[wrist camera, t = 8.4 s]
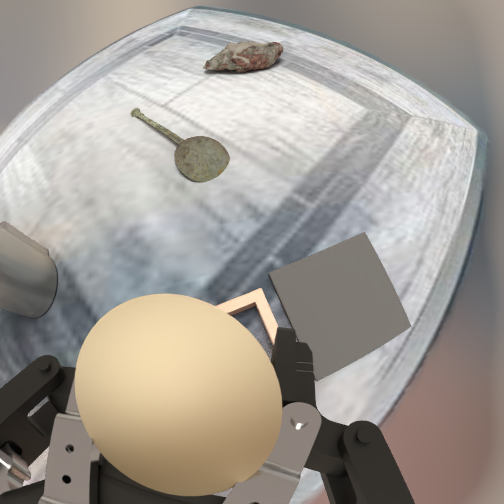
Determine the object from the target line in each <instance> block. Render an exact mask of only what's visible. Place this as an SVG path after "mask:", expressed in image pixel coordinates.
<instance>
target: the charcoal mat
mask: <svg viewBox="0 0 504 504" xmlns="http://www.w3.org/2000/svg"><path fill="white" fill-rule="evenodd" d="M269 277H270V279H271V281H272V284H273V286H274V288H275V290H276V293H277V295H278V297H279V299H280V302H281V304H282V306H283V308H284V311H285V313H286V315H287V317H288V320H289V322H290V324H291V326H292V329H295V332H296V338H297V340H298V342H304V343H307V344H308V346H309V348H310V349H311V351H312V355H313V368H314V371H313V373H314V378H315V380H316V381H318V380H320V379H322V378H324V377H326V376H328V375H330V374H332V373H334V372H336V371H338V370H340V369H342V368H343V367H345V366H347V365H349V364H351V363H353V362H354V361H356V360H358V359H360V358H362V357H363V356H365V355H367V354H368V353H370V352H372V351H374V350H375V349H377V348H379V347H380V346H382V345H383V344H385V343H387V342H388V341H390V340H391V339H393V338H394V337H396V336H398V335H399V334H401V333H402V332H404V331H405V330H407V329H408V328H410V327H411V324H410V322H409V320H408V317H407V315H406V313H405V311H404V308H403V306H402V304H401V302H400V300H399V297H398V295H397V293H396V291H395V289H394V287H393V285H392V283H391V281H390V279H389V277H388V275H387V273H386V271H385V269H384V267H383V265H382V263H381V261H380V259H379V257H378V255H377V253H376V252H375V250H374V248H373V246H372V244H371V242H370V241H369V239H368V237H367V235H366V233H365V232H364V233H362V234H359V235H357V236H355V237H352V238H350V239H348V240H346V241H343V242H341V243H339V244H336V245H334V246H332V247H329V248H327V249H325V250H322V251H320V252H318V253H315V254H313V255H311V256H308V257H306V258H303V259H301V260H299V261H296V262H294V263H291V264H289V265H287V266H284V267H282V268H279V269H277V270H274V271H272V272H270V273H269Z"/></svg>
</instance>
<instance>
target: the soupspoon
mask: <svg viewBox="0 0 504 504" xmlns="http://www.w3.org/2000/svg"><path fill="white" fill-rule="evenodd" d="M131 116H132V117H134V116H135V117H139V118H140V119H143V120H144V121H146V122H147V123H149V124H150V125H152V126H153V127H155V128H156V129H158V130H160V131H161V132H162V133H164V134H165V135H167V136H168V137H169V138H170V139H172V140H173V141H174V142H176V143H177V144H178V146H177V148H176V150H175V154H174V155H175V163H176V165H177V167H178V169H179V170H180V171H181V172H182V173H183V174H184V175H185V176H187V177H188V178H189V179H191V180H193V181H196V182H207V181H210V180H212V179H214V178H216V177H217V176H219V175H220V174H221V173H222V172H223V171H224V170H225V169H226V167H227V165H228V163H229V160H230V157H229V154H228V152H227V150H226V149H225V147H223V145H221V143H219V142H218V141H216V140H214V139H212V138H209V137H205V136H196V137H191V138H188V139H186V140H183V139H182V138H180V137H179V136H177V135H176V134H174V133H173V132H171V131H170V130H168V129H166V128H165V127H163V126H161V125H160V124H158V123H156V122H154V121H152V120H151V119H149V118H147V117H145V116H144V114H142V113H141V112H140V110H139V108H135V109H133V110H132V111H131Z"/></svg>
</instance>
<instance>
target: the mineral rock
mask: <svg viewBox="0 0 504 504" xmlns="http://www.w3.org/2000/svg"><path fill="white" fill-rule="evenodd" d="M282 52H283V46H281V45H280V44H279V43H277V42H272V43H267V44H262V43H256V42H240V43H237V44H235V43H231V42H230V43H229V44H228V45H227V46H226V47H225V49H224V50H222V51H221V52H220V53H219V54H217V55H216V56H214V57H213V58H212V59H211V60H208V61H207V62H206V64H205V66H204V67H203V68H204V69H206V70H216V71H218V70H223V69H228V70H236V73H241V72H242V73H243V72H246V71H249V70H256V69H265V68H267V67H269V66H271V65H273V64H274V63H275V61H276V59H277V58H279V56H280V55H281V53H282Z"/></svg>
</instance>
